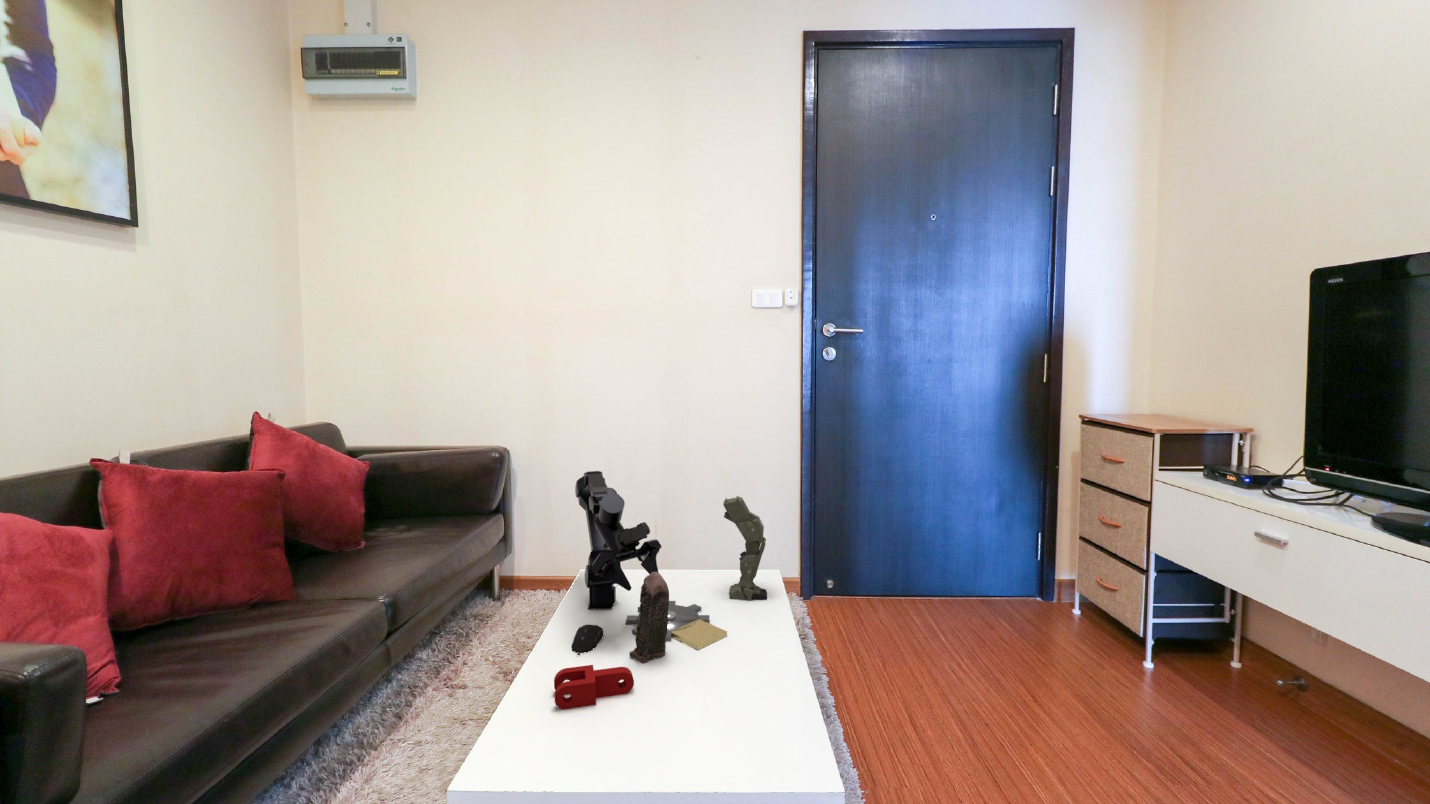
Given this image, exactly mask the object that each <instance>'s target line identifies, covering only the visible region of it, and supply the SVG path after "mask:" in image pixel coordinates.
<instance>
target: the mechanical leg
mask: <svg viewBox="0 0 1430 804" xmlns="http://www.w3.org/2000/svg"><path fill="white" fill-rule="evenodd" d="M723 507H724V509H725V512H724V515H723V518H724V519H726V520H728V521H729V522H732V523H733V524H735V526H736V528H737V529H738V531H739V533H740V534H741V535H742V537H743V539H744V541H745V543H744V546H745V547H744V548H745V550H744V551H742V552H741V553H740V554H739V555H740V557H739V571H740V574H741V575H740V577H739V581H738V583H734V584H732V585H730V587H729V591H728V594H729V599H731V600H746V601H747V600H749V601H767V599H768V592H767V589H766V588H761V586H758V585H756V584H755V583H754V579H755V577H757V573H758V570H759V567H760V564H761V560H762V556H763V553H764V551H765V548H766V541H767V539H766V537H764V532H765V531H764V530H765V529H764V528H765V527H764V523H763V522H762V520H761V519H760V516H759V515H757V514H755V513H753V512H752V511H750V509H749V507H748V506H747V504H746V502H745V500H744V499H743V497H742V496H741V497H740V496H736V497H731V498H728V497H725V499H724V500H723Z"/></svg>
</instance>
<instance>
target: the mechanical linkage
mask: <svg viewBox="0 0 1430 804" xmlns="http://www.w3.org/2000/svg"><path fill="white" fill-rule="evenodd" d="M620 681H621V682H620ZM553 685H554V693H553V694H554V704H555V706H556V707H557V708H558V709H559V710H561V711H564V710H565V711H566V710H571V709H579V708H584V707H593V706H596V705H597V699H601V698H608V697H615V696H623V695H628V694H629V693H631V691H632V690H633V688H634V686H635V680H634V676H633V672H632V670H631V669H629V668H628V667H626V666H617V667H609V668H601V669H594V664H588V665H580V666H573V667H566V668H563V669H560V670H559V671H558V672H556V674H555V676H554V679H553ZM567 695H569V696H568V697H566V696H567Z"/></svg>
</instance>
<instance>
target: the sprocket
mask: <svg viewBox="0 0 1430 804" xmlns="http://www.w3.org/2000/svg"><path fill="white" fill-rule="evenodd" d="M699 611H701V612H702V606H700V605H698V604H696V603H693V604H690V605H688V606H683V605H677V604H676V600H669V606H668V626H667V634H666V638H665V640H666V641H671V642H672V639H674V638H675V639H674V640H676V639H677V641H678V640H679V642H680V641H681V642H680V643H682V642H683V643H682V644H684V643H685V645H686V644H687V646H688V645H689V647H690V646H692V647H691V648H693V649H695V648H696V649H695V650H697V649H699V650H701V649H703V648H705V647H707V646H709V644H710V645H711V644H713V642H714V643H716V642H718V641H719V640H718V639H720V640H721V639H724V638H726V637H727V636H728V631H727V630H724V629H723V628H720V627H718V626H715V625H713V624H710V614H704V615H703V614H701V615H700V614H698V613H700V612H699ZM637 612H638V614H636V615H627V616H626V620H625V625H626V626H628V625H629V626H630V625H631V626H634V625H635V626H636V625H637V623H638V619H637V618H638V617H639V616H640V606H638V607H637ZM697 612H698V613H697ZM631 634H632V635H633V636H635V637H636V634H637V629H636V627H634V628H632V629H631ZM725 636H726V637H725ZM672 637H673V638H672ZM723 637H724V638H723ZM717 640H718V641H717ZM715 641H716V642H715ZM704 646H705V647H704ZM702 647H703V648H702ZM700 648H701V649H700Z"/></svg>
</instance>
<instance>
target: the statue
mask: <svg viewBox="0 0 1430 804" xmlns="http://www.w3.org/2000/svg"><path fill="white" fill-rule="evenodd" d="M658 572H659V571H658ZM658 572H652V573H651V574H648V575H646V576H645V577H644V578H643V584H642V585H641V588H640V589H641V590H640V593H639V594H640V595H639V596H640V597H639V602H640V605H639V607H640V612H639V614H640V616H639V617H638V618H637V619H638V623H637V625H635V628H636V629H637V634H636V636H635V639H634V641H635V646H636V647H635V648H633V650H631V651H630V652H629V657H630V659H633V660H635V661H637V662H638V663H640V662H641V663H640V664H646V663H648V662H649V660H650V661H652V660H655V659H654V658H657V659H661V658H663V657H664V656H665V655H666V649H667V648H666V647H667V646H666V644H667V643H666V640H665V638H666V634H667V626H668V606H669V601H670V590H669V587H668V584H667V582H666V580H665V579H664V577H663V576H662V575H661V573H658ZM662 656H663V657H662ZM660 657H661V658H660Z"/></svg>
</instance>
